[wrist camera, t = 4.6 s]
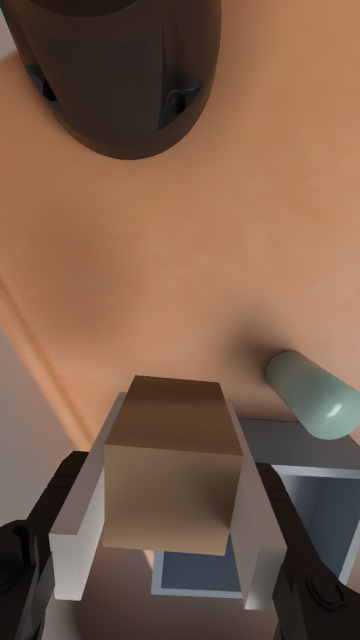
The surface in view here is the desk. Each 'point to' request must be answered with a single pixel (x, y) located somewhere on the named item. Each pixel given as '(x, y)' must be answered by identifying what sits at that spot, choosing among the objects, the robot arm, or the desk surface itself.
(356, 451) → the tote
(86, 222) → the desk surface
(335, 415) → the teal cylinder
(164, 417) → the walnut cube
